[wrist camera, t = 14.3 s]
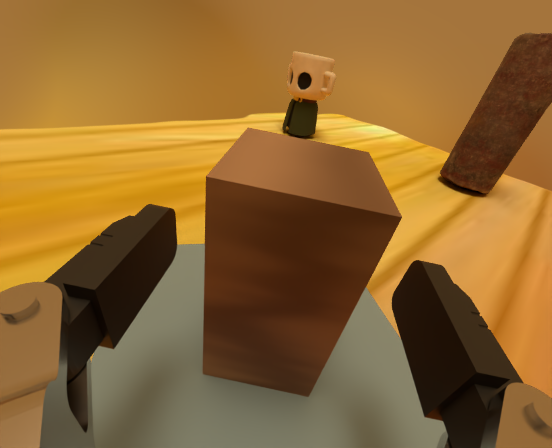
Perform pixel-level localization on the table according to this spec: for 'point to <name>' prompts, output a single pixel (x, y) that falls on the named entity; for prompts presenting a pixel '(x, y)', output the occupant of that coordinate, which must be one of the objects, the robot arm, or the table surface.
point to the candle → (504, 115)
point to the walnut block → (287, 255)
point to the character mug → (307, 90)
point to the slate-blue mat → (245, 397)
